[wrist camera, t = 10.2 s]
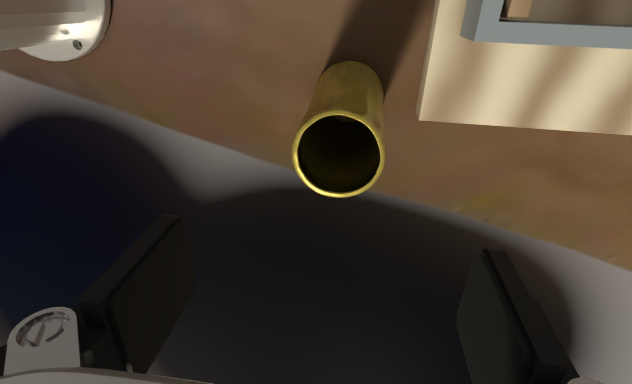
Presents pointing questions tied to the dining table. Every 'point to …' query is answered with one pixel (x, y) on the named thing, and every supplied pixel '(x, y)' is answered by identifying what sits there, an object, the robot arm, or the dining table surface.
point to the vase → (342, 132)
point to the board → (528, 72)
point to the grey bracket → (538, 29)
